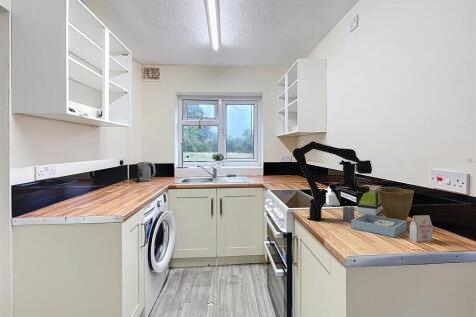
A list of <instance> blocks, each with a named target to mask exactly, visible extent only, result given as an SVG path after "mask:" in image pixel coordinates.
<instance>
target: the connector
mask: <svg viewBox="0 0 476 317" xmlns="http://www.w3.org/2000/svg"><path fill="white" fill-rule="evenodd" d="M353 219H355V207H354V206H351V205H346V206H343V207H342V221H343V222H347V223H351V220H353Z"/></svg>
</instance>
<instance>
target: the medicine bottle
mask: <svg viewBox="0 0 476 317" xmlns="http://www.w3.org/2000/svg"><path fill="white" fill-rule="evenodd" d="M325 196H326V197H327V198H326V203H325V204H326V205H328V206H340V205H341V204H340V203H339V201H338V199H337V197H336V195H335V193H334V192H333V190H331V189H330V188H329V186H328V187H327V192H325Z"/></svg>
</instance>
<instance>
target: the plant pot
mask: <svg viewBox="0 0 476 317" xmlns="http://www.w3.org/2000/svg"><path fill="white" fill-rule="evenodd" d="M379 194H380V200H381V204H382V211H383V213H384V216H385V217H387V218H393V219H398V220H404V221H408V220H407V219H408V217H409V215H410V212H411V209H412V204H413V200H414V199H413V198H414V194H415V191H414V190H411V189H404V188H403V189H402V188H381V189H380V190H379Z"/></svg>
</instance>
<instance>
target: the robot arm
mask: <svg viewBox="0 0 476 317" xmlns="http://www.w3.org/2000/svg"><path fill="white" fill-rule="evenodd" d="M312 150H316V151H319V152H324V153H327V154H331V155H335V156H337V157H338V158H341V159H342V160H341V161H340V162H338V165H340V166H341V165H342V175H341V178H342V183H341V182H330V183H329V185H328V187H329V188H330V189H331V190H333V192H334V193H335V195H336V197H337V199H338V201H339V203H342V202H341V201H342V190H343V189H345V190H354V191H356V192H355V197H356V198H355V200H356V202H355V203H356V207H357V206H358V205H359V202H360V200H361V198H362V196H363V194H364V193H367V192H369V191H370V188H369V186H366V185H367V184H361V185H360V183H361V180H360V179H358V178H357V175H356V172H357V174H359V175H363V174H364V175H365V174H367V175H368V174H369V175H370V174H372V171H373V166H372V163H371V160H369V159H366V160H360V158H359V157H358V156H357V152H356V150H355V149H352V148H344V147H343V148H341V147H334V146H331V145H327V144H325V143H324V144H323V143H319V142H317V141H313V140H312V141H310V142H309V143H307V144H305V145H304V146H302V147H296V148H294V149H293V150H292V156H293V158H294V160H295V162H297V164H298V165H299V167H300V169H301V171H302V173H303V175H304V177H305V179H306V181H307V184H308V187H309V189H310V191H311V195H312V199H311V200H310V201H309V202H308V204H309V217H306V219H307V220H310V221H313V222H320V221H323V220H325V218H324V217H322V211H323V210H322V208H323V206H325V204H327V203H326V198H327V197H326V194H325V192H324V190H323V188H321V189H320V188H319V187H318V185H317V183H316V181H315V178H314V177H313V174H312V172H311V170H310V168H309V165H308V163H307V160H306V154H308V153H309V152H311V151H312ZM345 160H346V161H345ZM352 162H353V163H352ZM357 191H358V192H357Z"/></svg>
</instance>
